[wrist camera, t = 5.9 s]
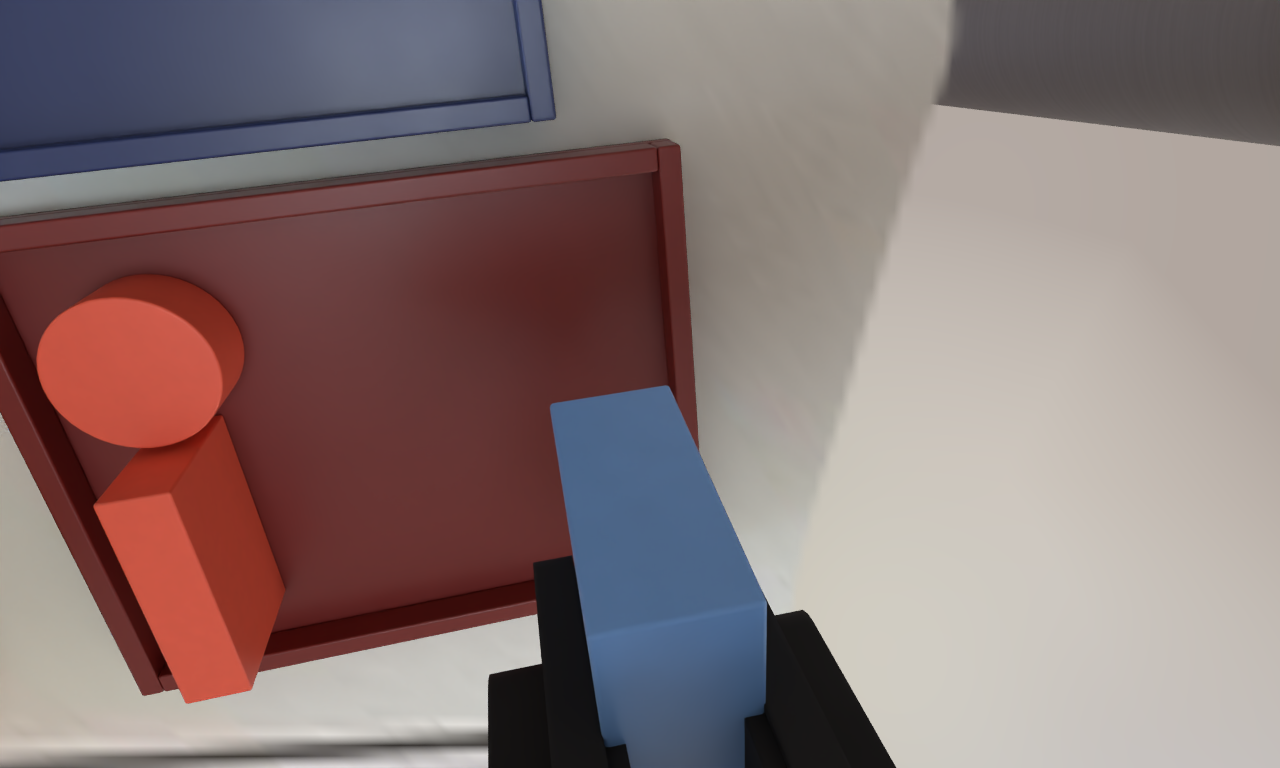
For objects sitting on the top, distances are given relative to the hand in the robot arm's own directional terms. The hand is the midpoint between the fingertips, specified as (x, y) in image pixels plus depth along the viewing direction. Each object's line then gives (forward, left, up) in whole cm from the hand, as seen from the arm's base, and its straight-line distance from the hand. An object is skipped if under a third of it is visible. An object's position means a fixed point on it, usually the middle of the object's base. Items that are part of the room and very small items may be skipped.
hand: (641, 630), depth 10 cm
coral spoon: (+10, +2, -12) cm, 16 cm away
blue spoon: (0, +2, -1) cm, 2 cm away
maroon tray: (+5, +2, -12) cm, 13 cm away
